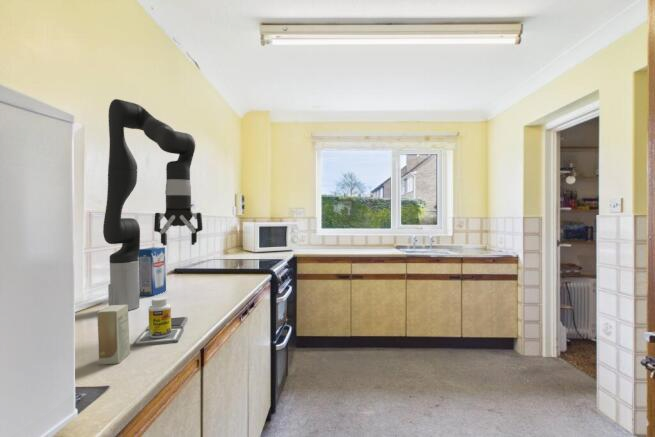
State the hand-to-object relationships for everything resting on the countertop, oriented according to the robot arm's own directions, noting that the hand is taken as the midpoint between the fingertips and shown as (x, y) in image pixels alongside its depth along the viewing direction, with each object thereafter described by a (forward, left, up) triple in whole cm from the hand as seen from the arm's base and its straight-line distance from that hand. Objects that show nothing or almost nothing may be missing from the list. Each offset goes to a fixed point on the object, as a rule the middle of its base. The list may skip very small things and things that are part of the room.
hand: (179, 244), depth 119 cm
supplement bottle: (-3, -17, -24) cm, 29 cm away
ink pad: (-3, -6, -24) cm, 25 cm away
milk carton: (-19, +48, -24) cm, 57 cm away
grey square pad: (-3, -17, -24) cm, 30 cm away
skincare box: (-10, -31, -24) cm, 41 cm away
